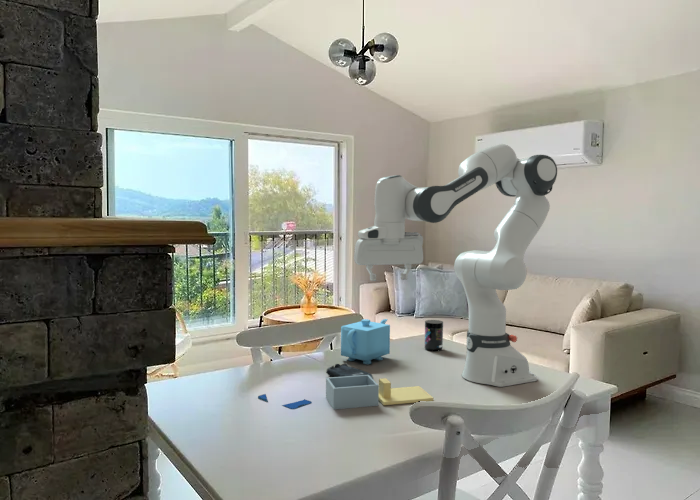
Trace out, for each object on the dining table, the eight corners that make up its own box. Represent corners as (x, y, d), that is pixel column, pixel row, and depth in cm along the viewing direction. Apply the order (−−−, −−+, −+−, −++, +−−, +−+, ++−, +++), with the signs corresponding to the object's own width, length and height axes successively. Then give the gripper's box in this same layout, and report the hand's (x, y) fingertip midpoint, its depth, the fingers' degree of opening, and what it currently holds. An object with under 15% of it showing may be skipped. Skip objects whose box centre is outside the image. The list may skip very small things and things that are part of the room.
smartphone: (277, 390, 151) (313, 402, 141) (277, 393, 151) (313, 405, 141) (256, 396, 146) (292, 409, 136) (256, 400, 146) (292, 413, 136)
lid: (419, 392, 152) (419, 372, 152) (433, 404, 143) (433, 383, 142) (372, 396, 149) (372, 375, 148) (383, 409, 139) (383, 387, 139)
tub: (368, 396, 148) (368, 374, 148) (378, 407, 139) (378, 385, 139) (325, 399, 145) (326, 377, 145) (333, 411, 136) (333, 388, 136)
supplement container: (429, 346, 203) (429, 319, 203) (445, 348, 200) (446, 321, 199) (421, 350, 198) (421, 322, 197) (438, 352, 194) (438, 324, 193)
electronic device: (324, 382, 165) (356, 388, 153) (324, 364, 165) (356, 368, 154) (347, 380, 171) (379, 386, 159) (347, 363, 171) (379, 367, 160)
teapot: (361, 368, 174) (362, 326, 173) (335, 362, 181) (335, 321, 180) (399, 354, 191) (400, 316, 190) (374, 349, 198) (374, 312, 197)
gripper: (419, 231, 160) (418, 277, 161) (352, 231, 154) (352, 279, 155) (427, 232, 154) (426, 280, 155) (358, 232, 148) (358, 282, 149)
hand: (388, 280), depth 155 cm, fingers open, 8 cm apart
